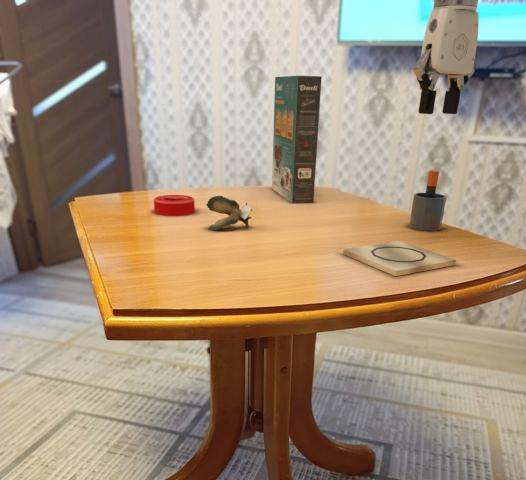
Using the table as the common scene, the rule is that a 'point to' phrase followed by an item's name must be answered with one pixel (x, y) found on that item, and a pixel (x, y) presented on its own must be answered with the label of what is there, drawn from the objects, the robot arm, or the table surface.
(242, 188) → the table surface
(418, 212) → the pen cup
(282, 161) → the cake mix box
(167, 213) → the red tape roll
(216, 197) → the eagle figurine
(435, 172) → the marker
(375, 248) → the beige square tile
